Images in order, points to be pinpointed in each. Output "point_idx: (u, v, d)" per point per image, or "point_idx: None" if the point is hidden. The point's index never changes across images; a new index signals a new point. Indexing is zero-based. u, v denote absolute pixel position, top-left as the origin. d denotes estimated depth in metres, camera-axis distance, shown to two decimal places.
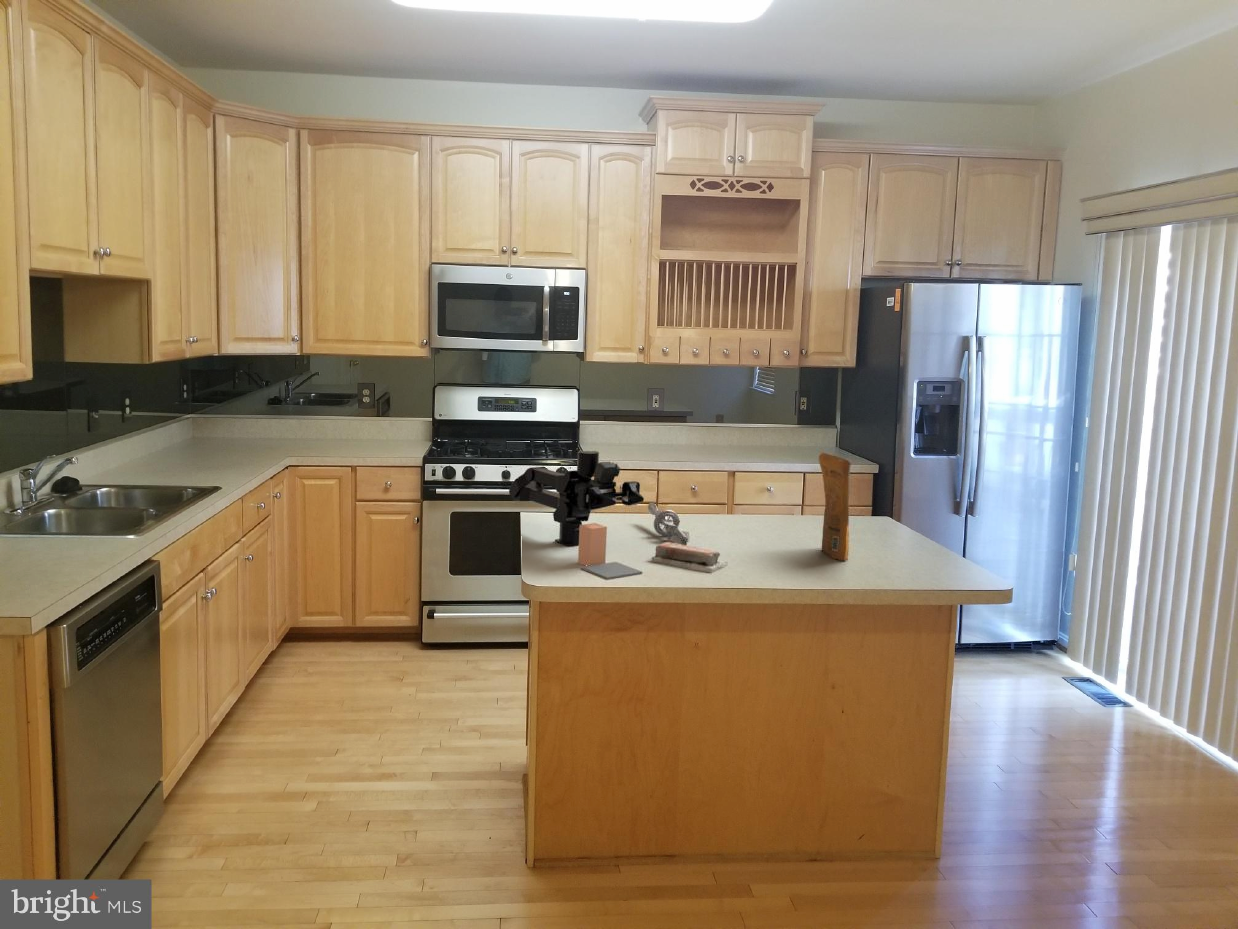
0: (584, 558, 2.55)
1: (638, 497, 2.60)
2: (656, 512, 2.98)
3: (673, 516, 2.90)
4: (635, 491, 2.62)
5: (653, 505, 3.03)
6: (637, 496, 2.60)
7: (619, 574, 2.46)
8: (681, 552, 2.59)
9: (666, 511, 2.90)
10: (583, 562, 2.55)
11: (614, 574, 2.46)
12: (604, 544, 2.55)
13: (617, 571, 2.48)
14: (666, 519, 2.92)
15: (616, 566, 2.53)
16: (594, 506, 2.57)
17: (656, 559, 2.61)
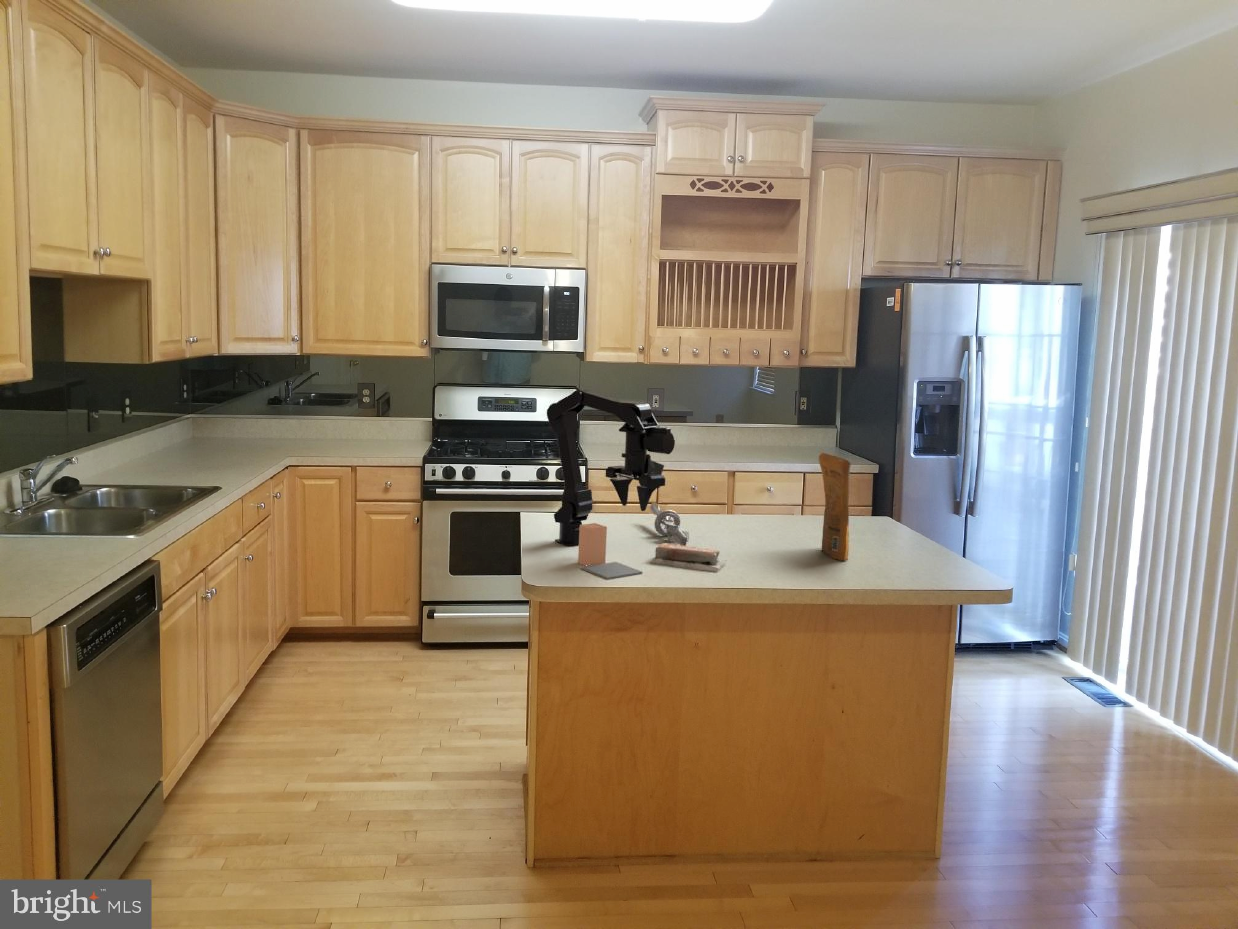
0: (584, 558, 2.55)
1: (625, 499, 2.67)
2: (658, 512, 2.98)
3: (674, 516, 2.91)
4: None
5: (655, 505, 3.04)
6: (626, 497, 2.67)
7: (619, 574, 2.46)
8: (684, 552, 2.59)
9: (667, 511, 2.90)
10: (583, 562, 2.55)
11: (614, 574, 2.46)
12: (604, 544, 2.55)
13: (617, 571, 2.48)
14: (667, 519, 2.92)
15: (616, 566, 2.53)
16: (643, 490, 2.57)
17: (658, 560, 2.59)
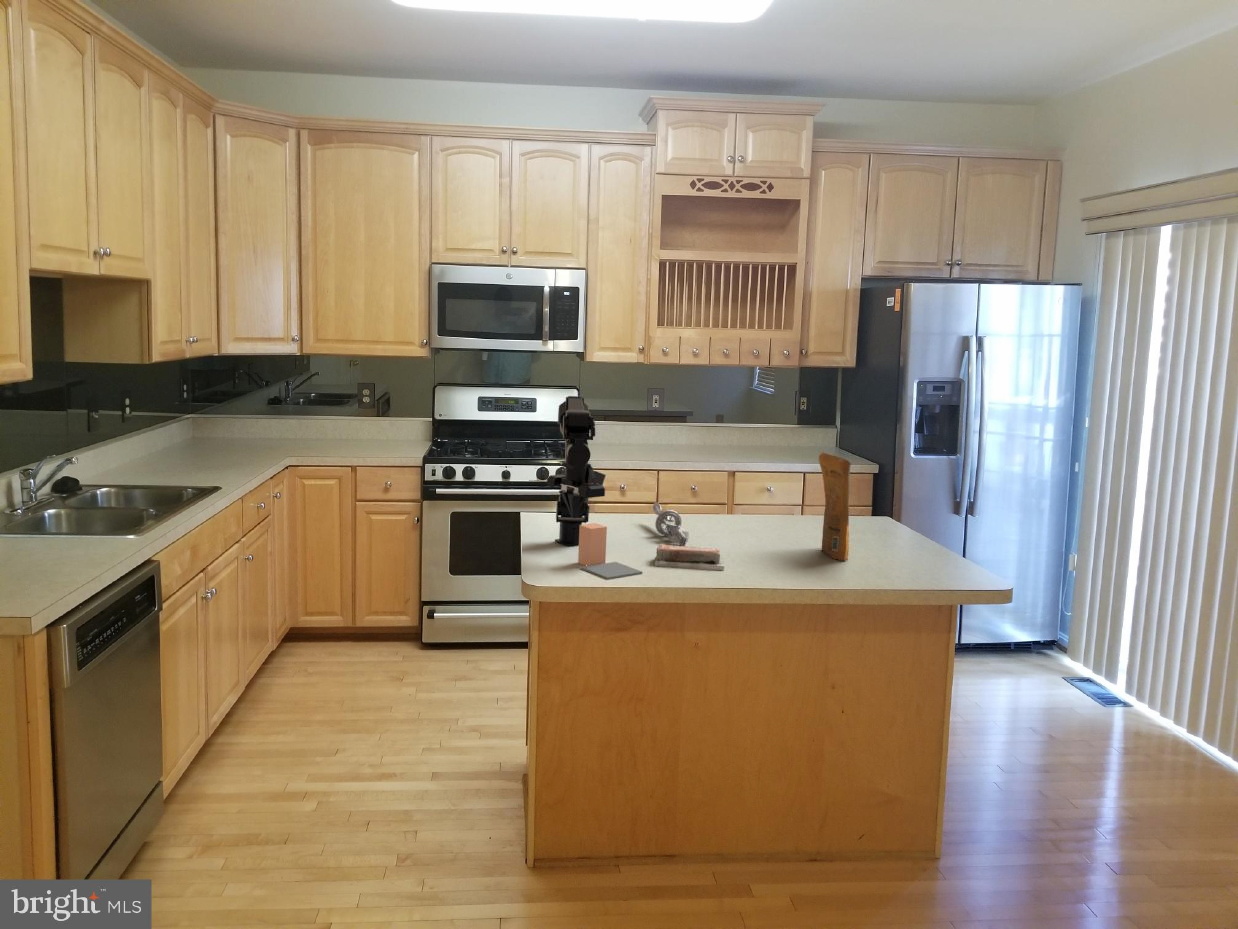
0: (584, 558, 2.55)
1: None
2: (659, 512, 2.98)
3: (675, 516, 2.91)
4: None
5: (657, 505, 3.04)
6: None
7: (619, 574, 2.46)
8: (687, 553, 2.58)
9: (668, 511, 2.90)
10: (583, 562, 2.55)
11: (614, 574, 2.46)
12: (604, 544, 2.55)
13: (617, 571, 2.48)
14: (668, 519, 2.92)
15: (616, 566, 2.53)
16: (573, 497, 2.58)
17: (661, 563, 2.57)
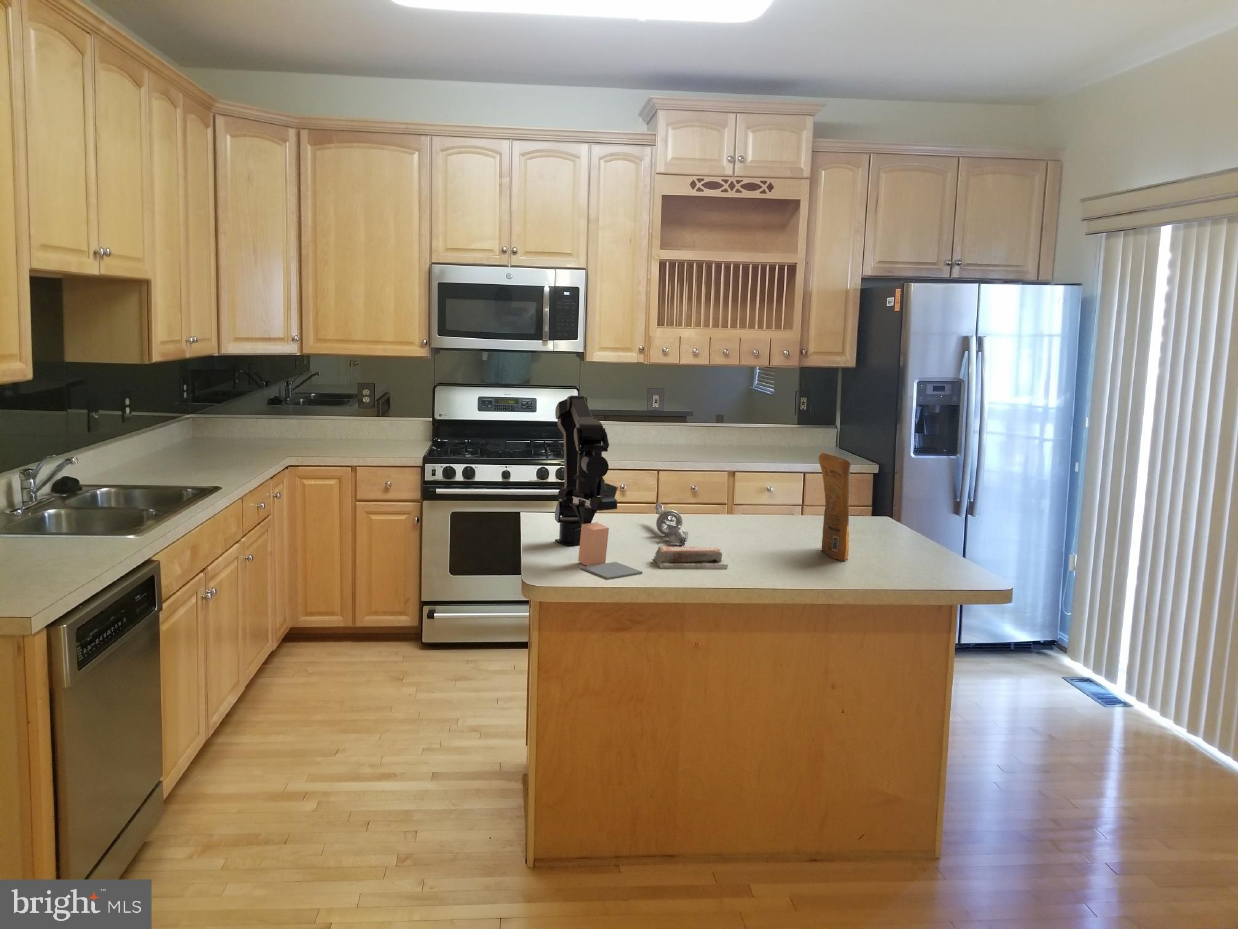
0: (585, 557, 2.55)
1: None
2: (661, 512, 2.98)
3: (676, 516, 2.91)
4: None
5: (659, 505, 3.04)
6: None
7: (619, 574, 2.46)
8: (690, 553, 2.58)
9: (669, 511, 2.90)
10: (583, 561, 2.55)
11: (614, 574, 2.46)
12: (605, 545, 2.55)
13: (617, 571, 2.48)
14: (669, 519, 2.92)
15: (616, 566, 2.53)
16: (585, 510, 2.54)
17: (667, 565, 2.55)
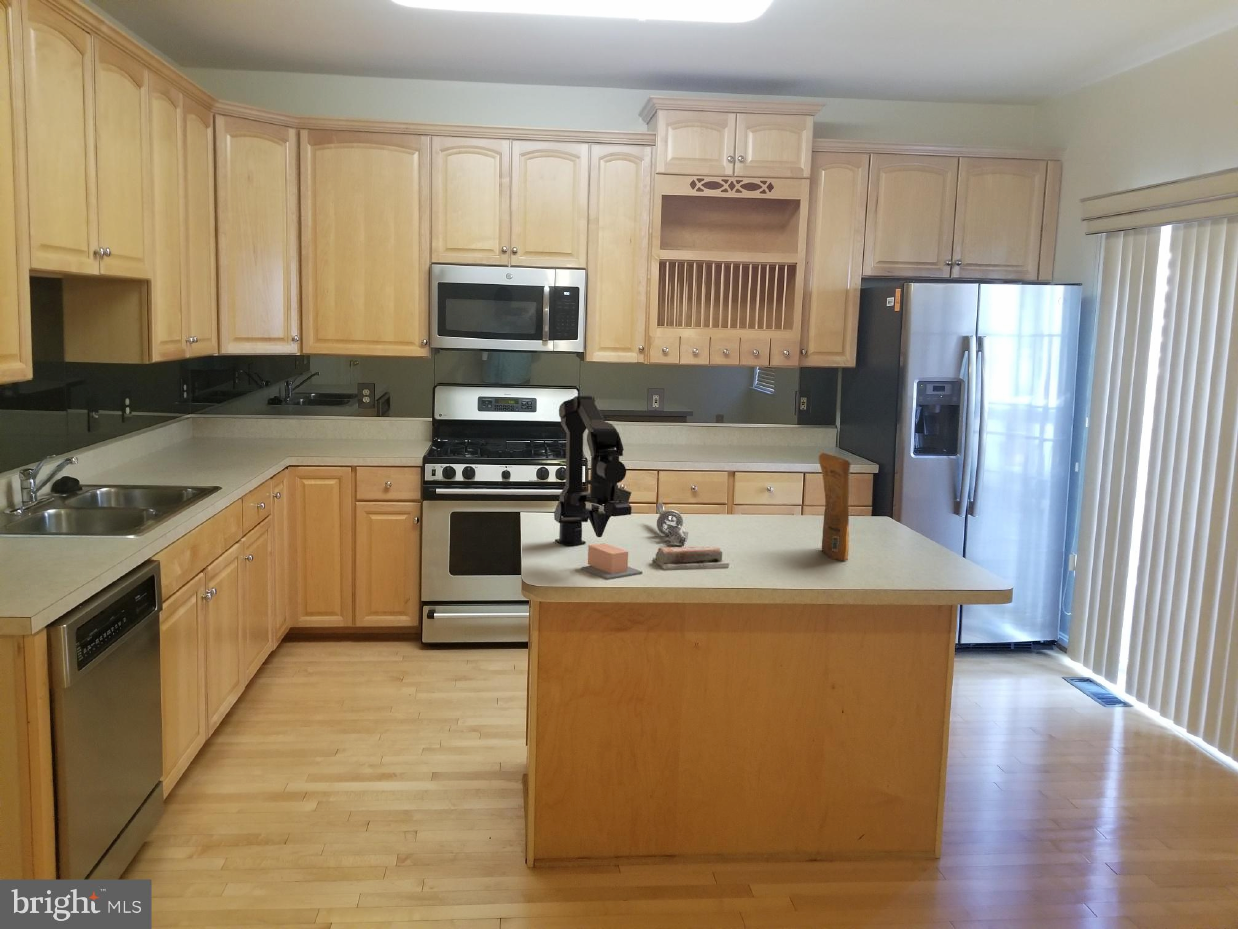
0: (592, 557, 2.52)
1: None
2: (662, 512, 2.98)
3: (676, 516, 2.91)
4: None
5: (660, 505, 3.04)
6: None
7: (619, 574, 2.46)
8: (692, 554, 2.58)
9: (669, 511, 2.90)
10: (589, 554, 2.53)
11: (614, 574, 2.46)
12: None
13: None
14: (670, 519, 2.92)
15: None
16: (599, 516, 2.50)
17: (671, 566, 2.54)
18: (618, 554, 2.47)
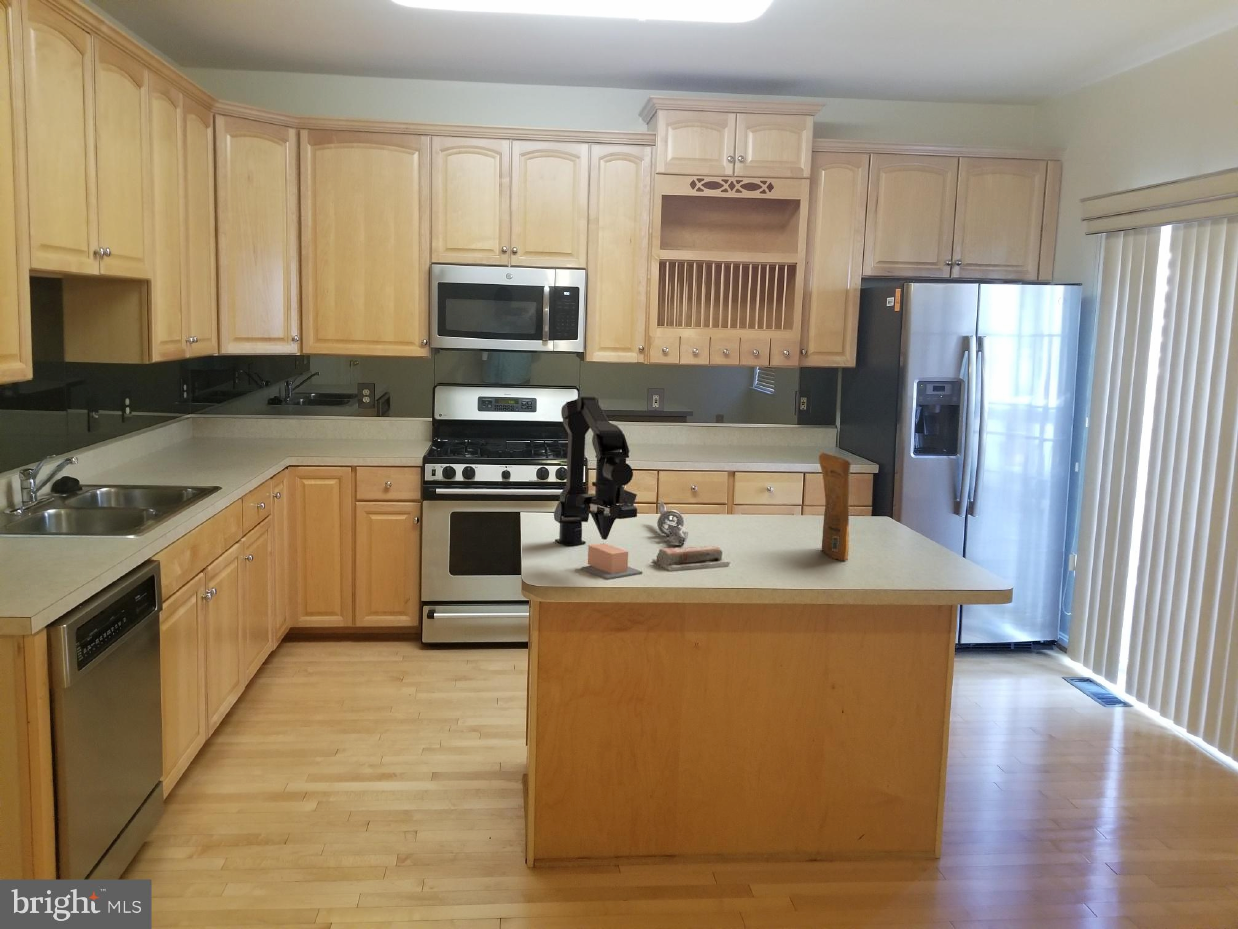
0: (592, 557, 2.52)
1: None
2: (663, 512, 2.99)
3: (677, 516, 2.91)
4: None
5: (662, 505, 3.04)
6: None
7: (619, 574, 2.46)
8: (694, 554, 2.58)
9: (670, 511, 2.90)
10: (589, 554, 2.53)
11: (614, 574, 2.46)
12: None
13: None
14: (670, 519, 2.92)
15: None
16: (604, 518, 2.48)
17: (676, 567, 2.54)
18: (618, 554, 2.47)
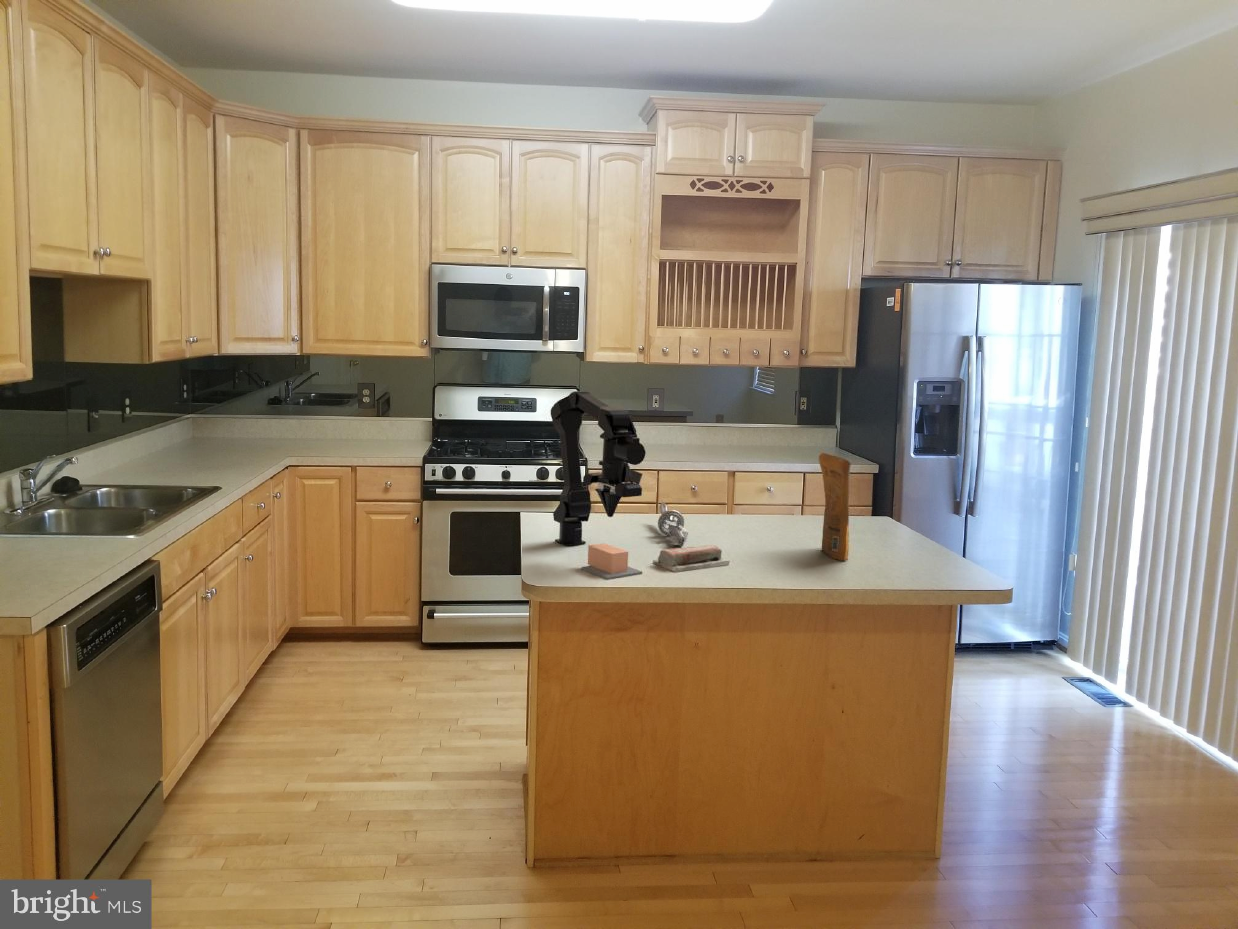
0: (592, 557, 2.52)
1: None
2: (664, 512, 2.99)
3: (677, 516, 2.91)
4: None
5: (663, 505, 3.04)
6: None
7: (619, 574, 2.46)
8: (696, 554, 2.58)
9: (670, 511, 2.90)
10: (589, 554, 2.53)
11: (614, 574, 2.46)
12: None
13: None
14: (671, 519, 2.92)
15: None
16: (610, 496, 2.56)
17: (680, 568, 2.53)
18: (618, 554, 2.47)
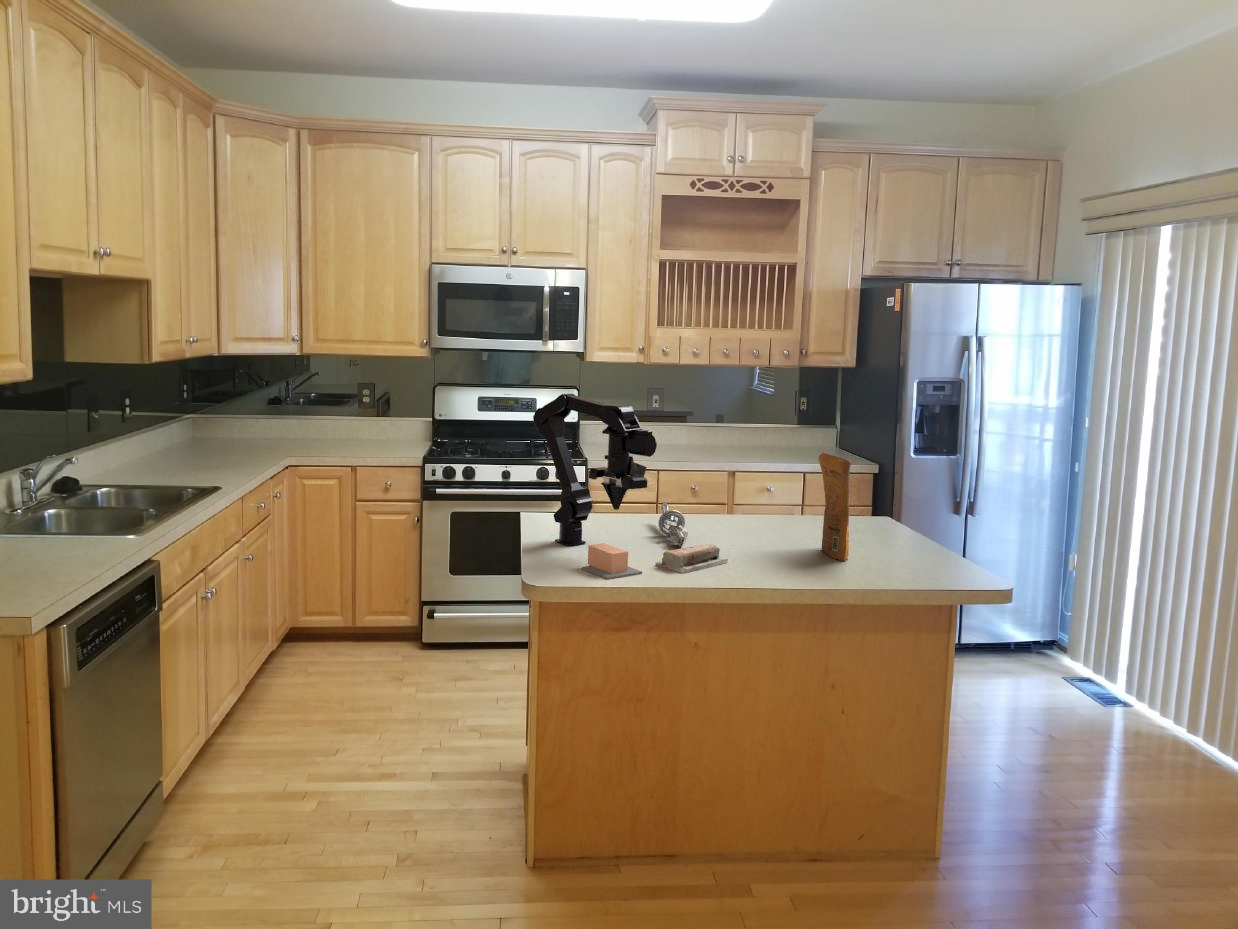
0: (592, 557, 2.52)
1: None
2: (665, 512, 2.99)
3: (678, 516, 2.91)
4: None
5: (665, 505, 3.04)
6: None
7: (619, 574, 2.46)
8: (699, 554, 2.58)
9: (671, 511, 2.90)
10: (589, 554, 2.53)
11: (614, 574, 2.46)
12: None
13: None
14: (672, 519, 2.92)
15: None
16: (616, 489, 2.63)
17: (688, 568, 2.53)
18: (618, 554, 2.47)
